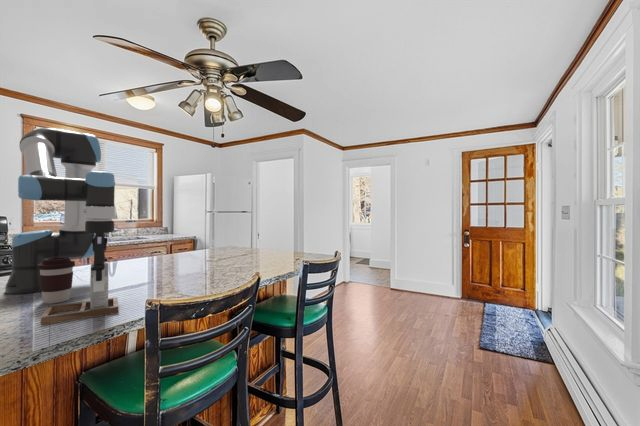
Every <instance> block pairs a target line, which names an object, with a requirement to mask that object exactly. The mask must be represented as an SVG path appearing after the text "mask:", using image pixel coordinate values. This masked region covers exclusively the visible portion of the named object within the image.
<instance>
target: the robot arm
mask: <svg viewBox="0 0 640 426" xmlns="http://www.w3.org/2000/svg"><path fill="white" fill-rule="evenodd" d="M18 147H19V150H20V152H21V154H22V155H23V156H24V157H23V159H24V168H25V174H21V175H19V176H18V179H17V180H18V183H17V193H18V197H19V199H21V200H26V201H27V200H28V201H37V202H38V201H54V202H55V201H59V202H63V201H64V216H63V217H64V218H63V219H64V221H63V222H64V223H63V225H62V226H61V227H59V229H58V230H59V231H58V232H54V231H53V230H52V229H41V230H40V229H39V230H33V231H32V230H31V231H26V232H25V231H23V232H18V233H16V234H14V235H13V237H12V238H11V239H12V240H11V241H12V242H11V248H12V249H11V273H10V275H9V277H8V280H7V282H6V284H5V287H4V289H5V290H4V293H6V294H9V295H14V294H15V295H16V294H17V295H20V294H31V293H37V292H41V288H40V277H39V275H40V270H39V269H37V265H38V264H40V263H42V262H43V260H44V259H47V258H55V257H68V258H70V260H71V261H72V260H82V259H89V258H92V257H93V264H94V266H93V268H91V267H90V272H91V271H93V292H98V291H104V275H105V269H104V268H105V266H104V263H106V262H108V257H107V258H106V255H105V252H107V244H108V237H106V234H108V233H114V232H115V221H114V220H115V213H116V212H115V210H116V209H115V193H116V192H115V191H116V190H115V187H116V186H115V185H116V181H115V175H114V173H113V172H108V171H99V170H93V169H94V168H96V167H97V166H96V165H97V164H96V163H100V162H101V159H102V152H101V151H102V149H101V144H100V141H99V139H98V137H97V136H96V135H94V134H90V133H86V132H79V131H72V130H67V129H66V130H64V129H59V128H55V127H54V128H53V127H41V128H36V129H34V130H31V131H28V132H27V133H25V134H24V135H23V136H22V137H21V138H20V140H19V146H18ZM54 158H55V159H60V164H61V165H62V166H63V167H64V168H65V176H64V177H62V176H60V177H59V176H58V175H57V170H56V165H55V159H54ZM92 170H93V171H92Z"/></svg>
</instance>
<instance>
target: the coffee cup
mask: <svg viewBox="0 0 640 426" xmlns="http://www.w3.org/2000/svg"><path fill="white" fill-rule="evenodd" d="M75 265H76V261H74V260H72V259H71V260H70V258H68V257H55V258H47V259H44V260H43V262H42V263H40V264H38V265H37V269H39V270H40V275H39V277H40V288H41V291H40V292H41V298H42V299H41V301H42V303H43V304H47V305H49V304H50V305H51V304H53V305H54V304H60V303H64V302H67V301H69V300H70V298H71V290H72V288H73V287H72V286H73V276H74V271H73V268H74V267H75Z"/></svg>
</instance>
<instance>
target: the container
mask: <svg viewBox="0 0 640 426" xmlns="http://www.w3.org/2000/svg"><path fill="white" fill-rule="evenodd" d="M93 266H94V263H91V265H90V269H91V268H93ZM104 266H105V268H104V269H105V275H104V291H98V292H93V271H91V270H90V278H89V279H90V280H89V283H90V284H89V285H90V286H89V289H90V290H89V291H90V295H89V299H90V300H89V301H90V308H89V310H91V309H98V308H105V307H109V305H108V298H109V263H108V262H105V263H104Z"/></svg>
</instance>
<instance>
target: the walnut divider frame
mask: <svg viewBox="0 0 640 426" xmlns="http://www.w3.org/2000/svg"><path fill="white" fill-rule="evenodd" d="M118 299H119V298H118V297H117V296H116V297H111V298H110V297H108V307H105V308H98V309H91V310H90V300H86V301H79V302H70V303H63V304H53V305H48V306H47V307H46V309H45V311H44V312H43V314H42V315H41V317H40V326H42V325H43V326H44V325H49V324H55V323H56V324H57V323H62V322H68V321H76V320H82V318H83V319H88V318H93V317H94V318H95V317H101V316H107V315H109V316H110V315H114V314H119V300H118ZM76 309H78V311H77V310H76ZM70 310H71V311H73V312H71V311H70ZM64 312H65V313H64ZM54 313H58V314H54Z"/></svg>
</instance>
